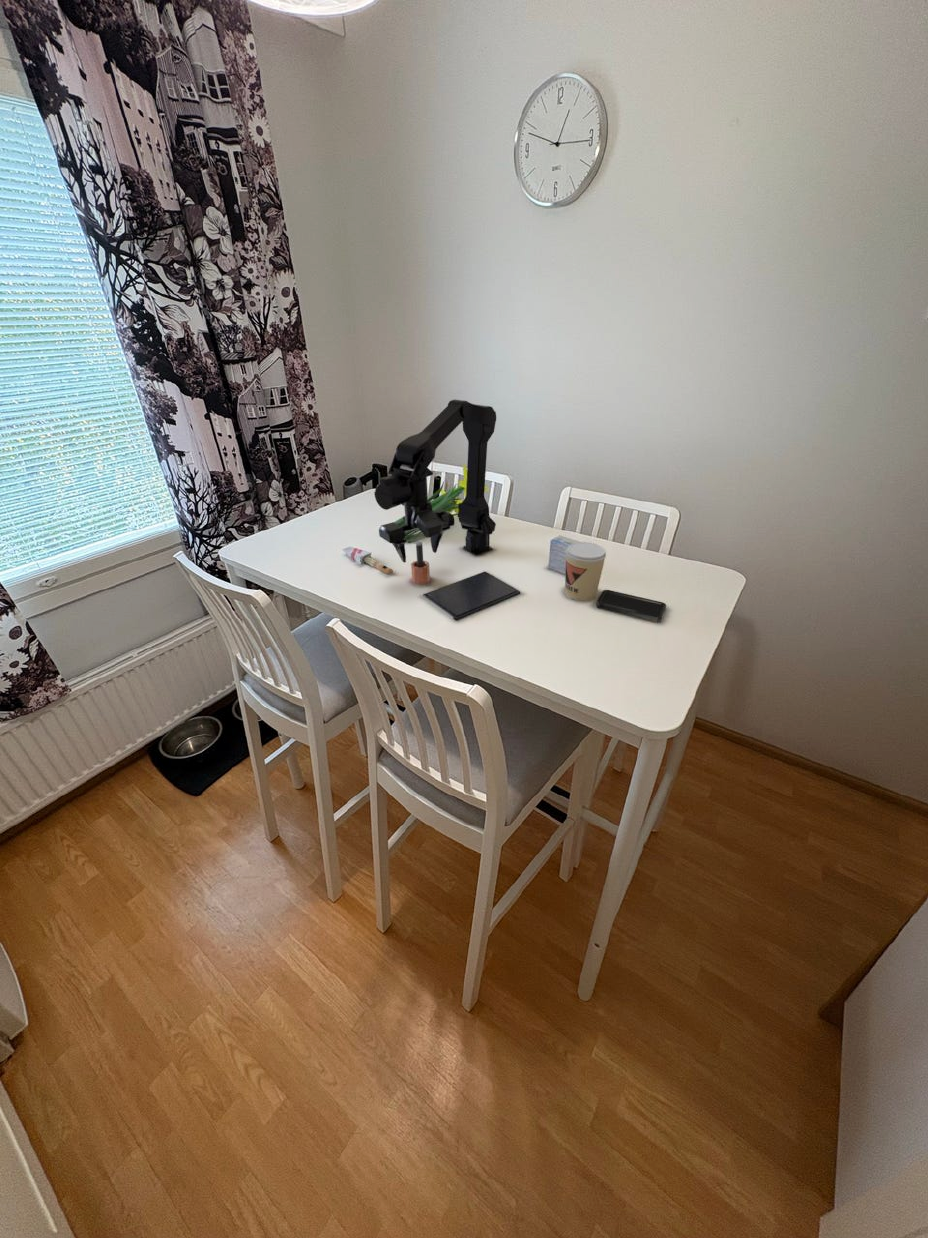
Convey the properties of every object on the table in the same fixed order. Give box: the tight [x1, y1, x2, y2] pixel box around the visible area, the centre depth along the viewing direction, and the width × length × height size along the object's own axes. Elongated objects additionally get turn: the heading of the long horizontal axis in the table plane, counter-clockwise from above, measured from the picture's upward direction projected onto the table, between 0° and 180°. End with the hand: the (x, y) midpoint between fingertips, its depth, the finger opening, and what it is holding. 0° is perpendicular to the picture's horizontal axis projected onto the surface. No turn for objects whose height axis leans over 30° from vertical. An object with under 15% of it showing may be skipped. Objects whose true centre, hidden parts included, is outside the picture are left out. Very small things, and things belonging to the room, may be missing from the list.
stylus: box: [415, 541, 424, 567], centre depth 125 cm, size 2×2×10 cm
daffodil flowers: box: [393, 461, 490, 543], centre depth 156 cm, size 17×15×35 cm
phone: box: [595, 589, 667, 623], centre depth 116 cm, size 8×1×15 cm
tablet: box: [422, 571, 521, 622], centre depth 122 cm, size 20×14×1 cm
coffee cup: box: [564, 541, 607, 602], centre depth 119 cm, size 9×9×12 cm
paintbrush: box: [342, 546, 393, 575], centre depth 137 cm, size 4×3×20 cm
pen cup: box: [410, 560, 431, 585], centre depth 127 cm, size 5×5×5 cm
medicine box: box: [547, 534, 581, 575], centre depth 131 cm, size 8×4×9 cm, turn 47°
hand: (419, 557), depth 125 cm, fingers open, 9 cm apart
